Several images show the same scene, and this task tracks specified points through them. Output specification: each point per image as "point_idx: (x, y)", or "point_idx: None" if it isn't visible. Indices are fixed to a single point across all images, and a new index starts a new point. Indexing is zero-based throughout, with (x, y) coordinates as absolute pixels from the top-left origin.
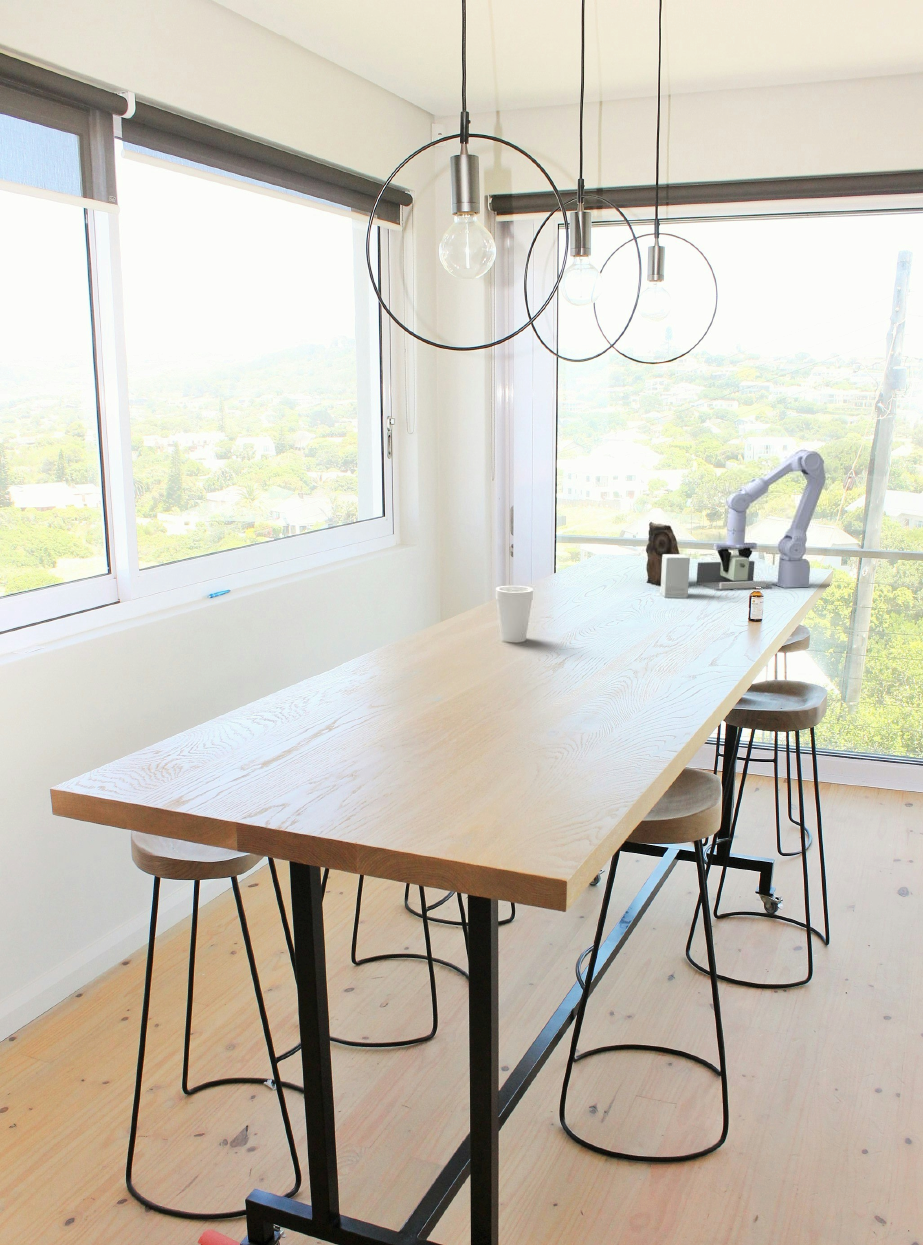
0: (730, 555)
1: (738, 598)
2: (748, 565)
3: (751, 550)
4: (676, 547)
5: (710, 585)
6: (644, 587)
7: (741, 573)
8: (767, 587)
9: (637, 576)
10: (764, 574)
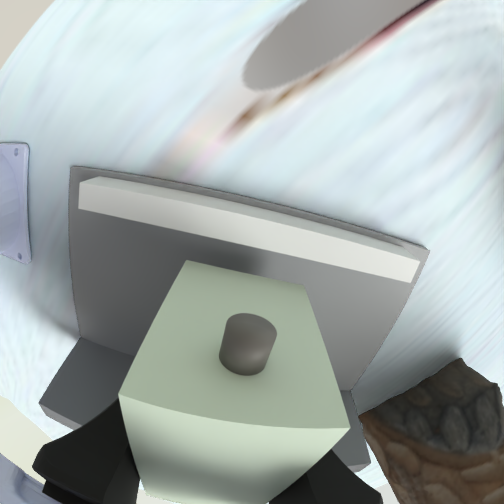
0: (316, 491)
1: (459, 48)
2: (150, 332)
3: (39, 472)
4: (479, 486)
5: (368, 336)
6: (490, 366)
7: (239, 300)
8: (94, 170)
9: (371, 461)
10: (25, 377)
